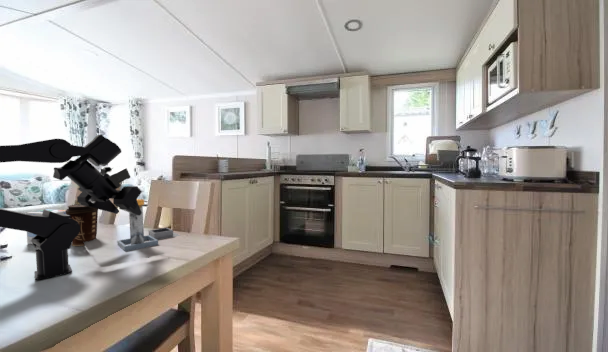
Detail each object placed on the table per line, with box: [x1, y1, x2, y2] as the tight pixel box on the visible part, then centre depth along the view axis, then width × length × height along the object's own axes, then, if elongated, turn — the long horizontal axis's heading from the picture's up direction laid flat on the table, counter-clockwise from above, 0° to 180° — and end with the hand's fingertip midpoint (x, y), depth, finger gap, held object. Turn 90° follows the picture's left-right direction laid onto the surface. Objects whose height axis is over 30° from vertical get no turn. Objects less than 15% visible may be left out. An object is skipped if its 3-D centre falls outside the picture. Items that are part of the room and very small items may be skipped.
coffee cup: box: [65, 203, 99, 247], centre depth 93 cm, size 9×8×13 cm
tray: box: [116, 234, 159, 252], centre depth 87 cm, size 9×9×2 cm
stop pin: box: [128, 198, 145, 245], centre depth 87 cm, size 5×5×14 cm
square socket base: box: [148, 227, 181, 241], centre depth 98 cm, size 9×8×3 cm
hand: (129, 213), depth 84 cm, fingers open, 9 cm apart
